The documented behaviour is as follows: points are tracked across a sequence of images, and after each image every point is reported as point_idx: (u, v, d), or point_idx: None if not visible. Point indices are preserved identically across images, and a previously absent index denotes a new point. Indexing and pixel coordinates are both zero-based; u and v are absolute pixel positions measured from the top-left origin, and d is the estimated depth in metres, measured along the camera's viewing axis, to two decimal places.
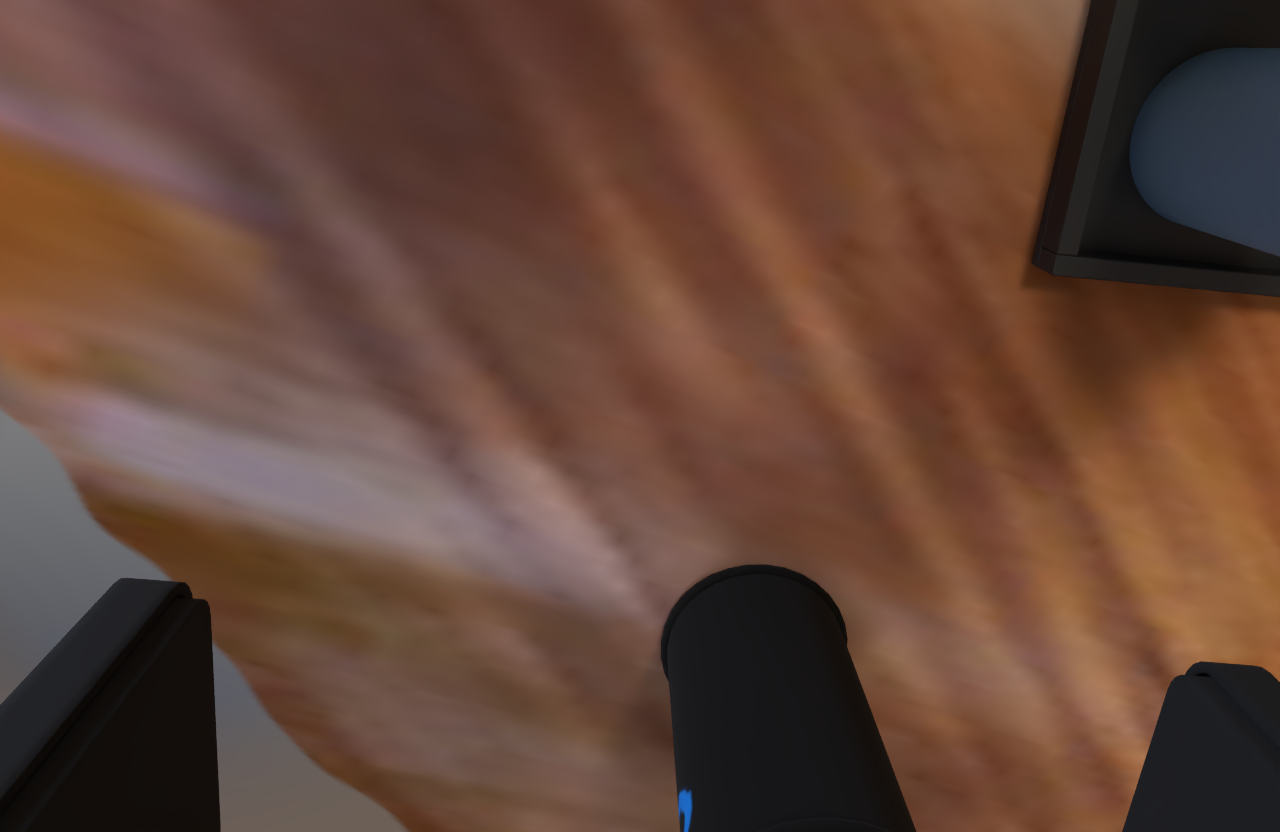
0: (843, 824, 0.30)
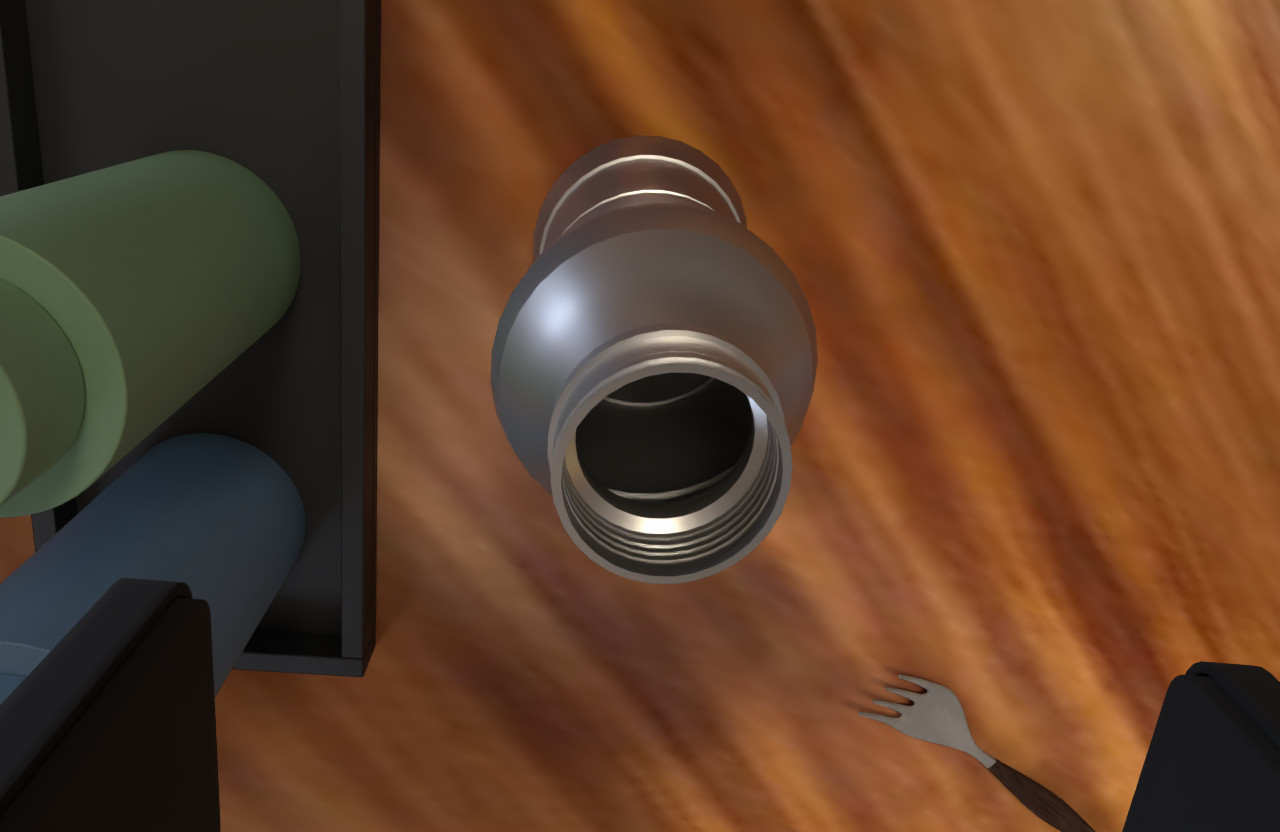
0: None
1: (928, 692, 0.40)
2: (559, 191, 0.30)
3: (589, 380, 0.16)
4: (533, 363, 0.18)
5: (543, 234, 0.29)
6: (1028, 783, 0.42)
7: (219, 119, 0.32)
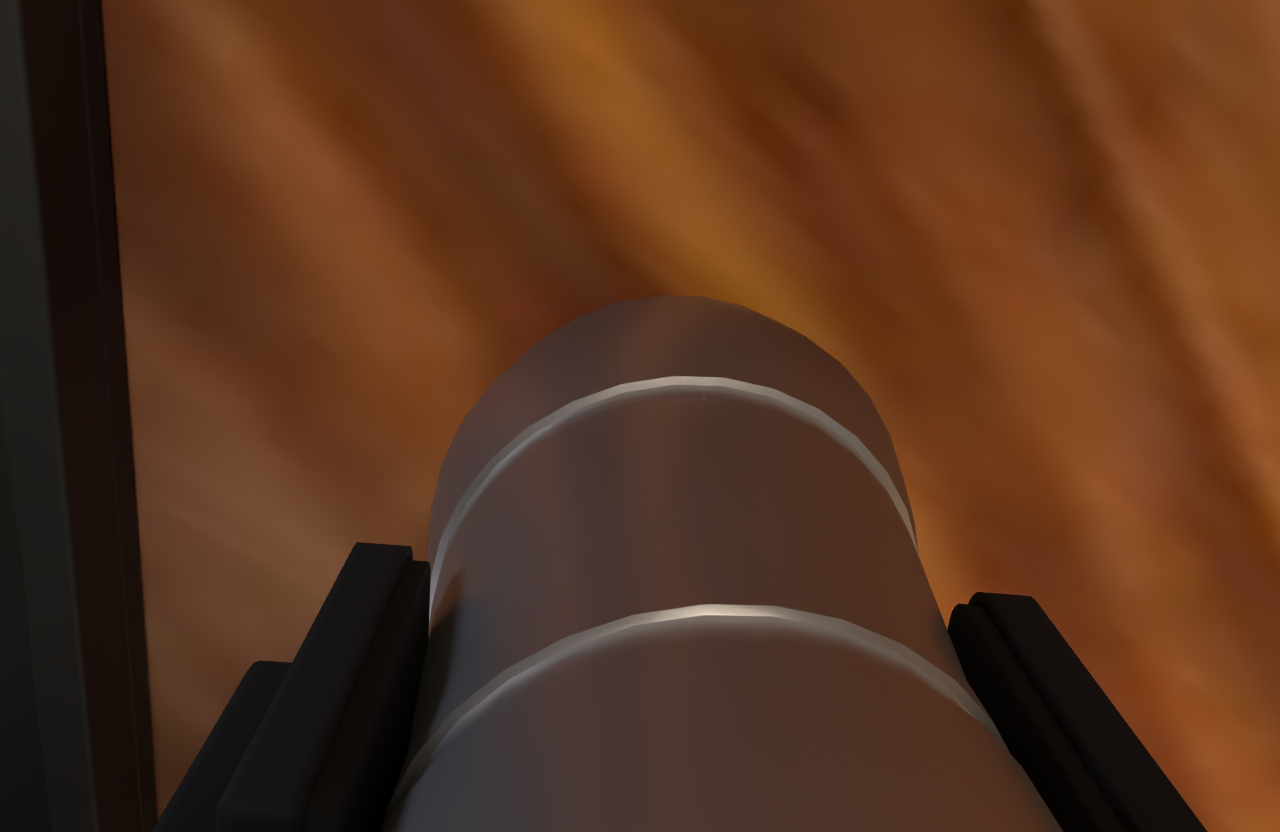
0: None
1: None
2: (477, 447, 0.12)
3: None
4: None
5: (437, 553, 0.12)
6: None
7: None
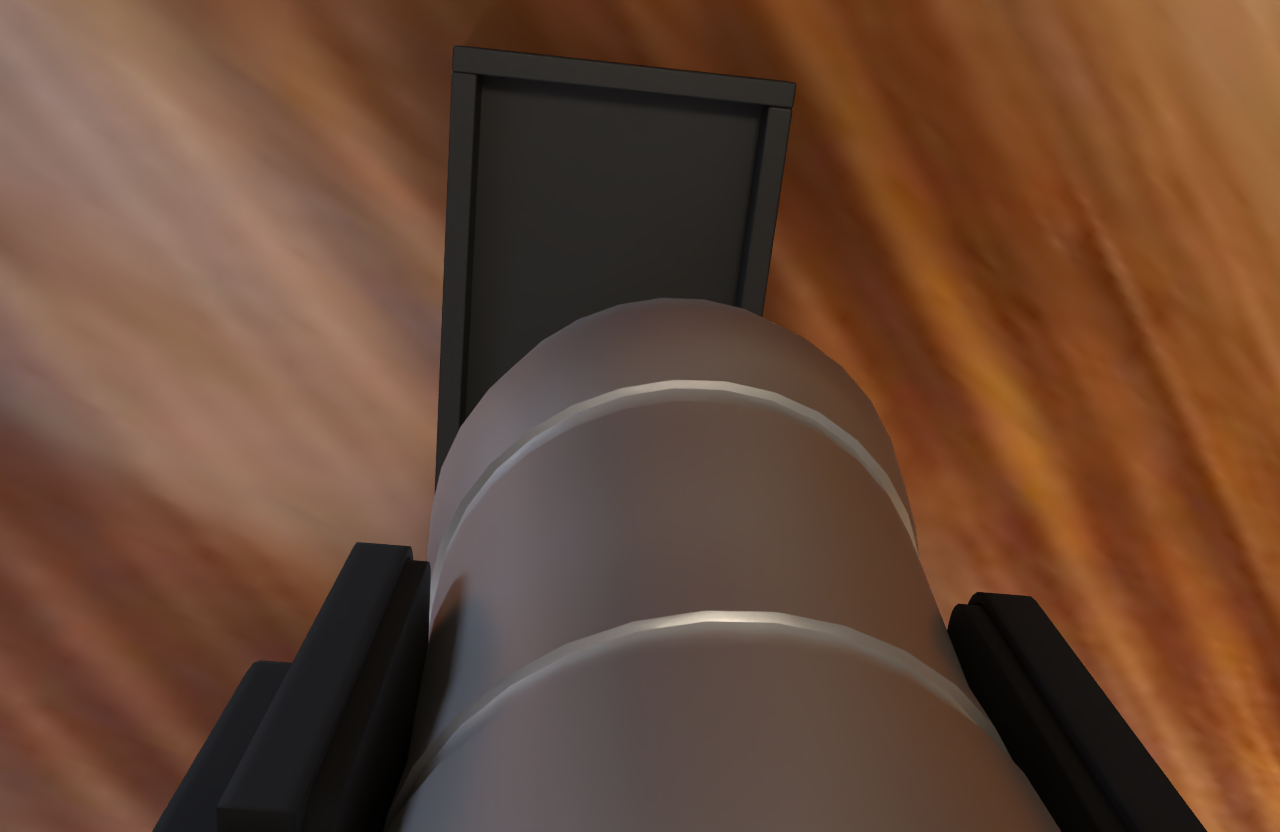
0: None
1: None
2: (477, 451, 0.12)
3: None
4: None
5: (437, 558, 0.12)
6: None
7: None
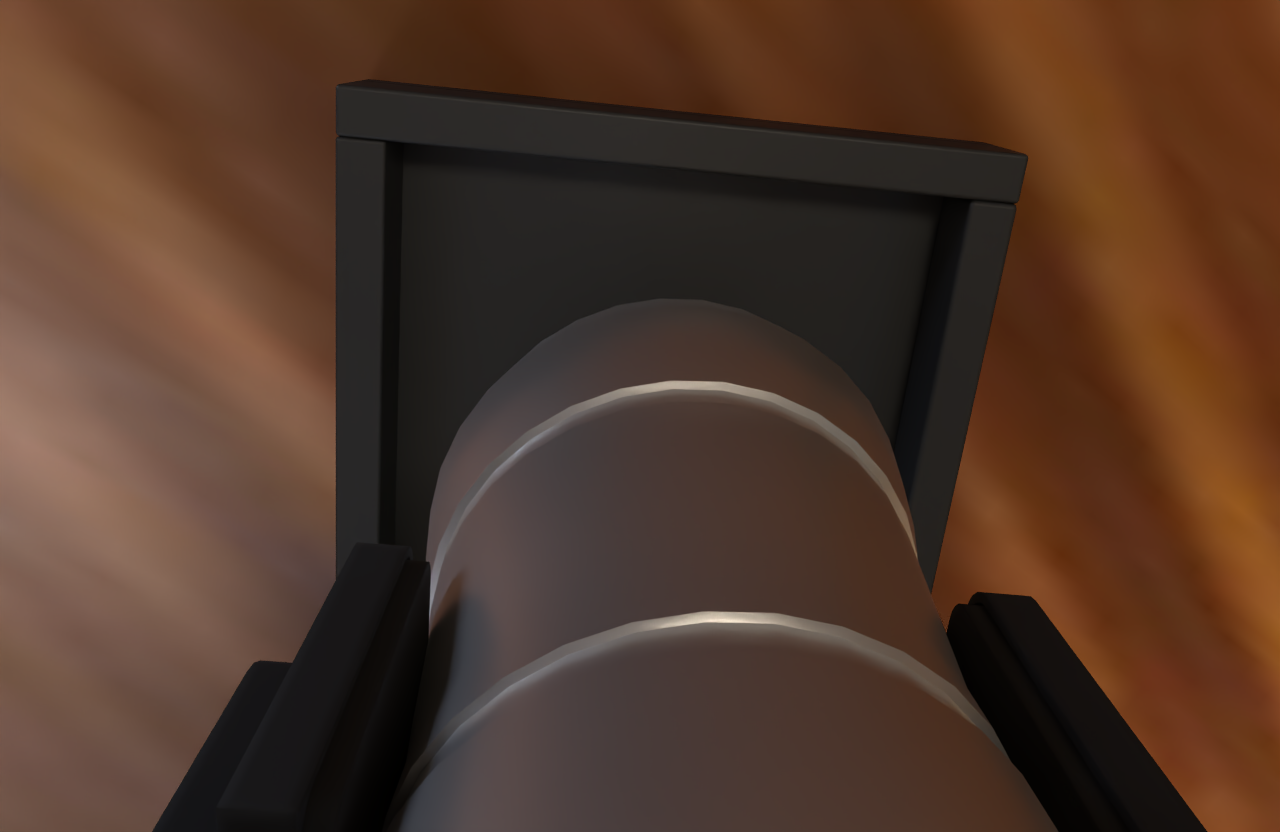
0: None
1: None
2: (476, 452, 0.12)
3: None
4: None
5: (436, 558, 0.12)
6: None
7: None
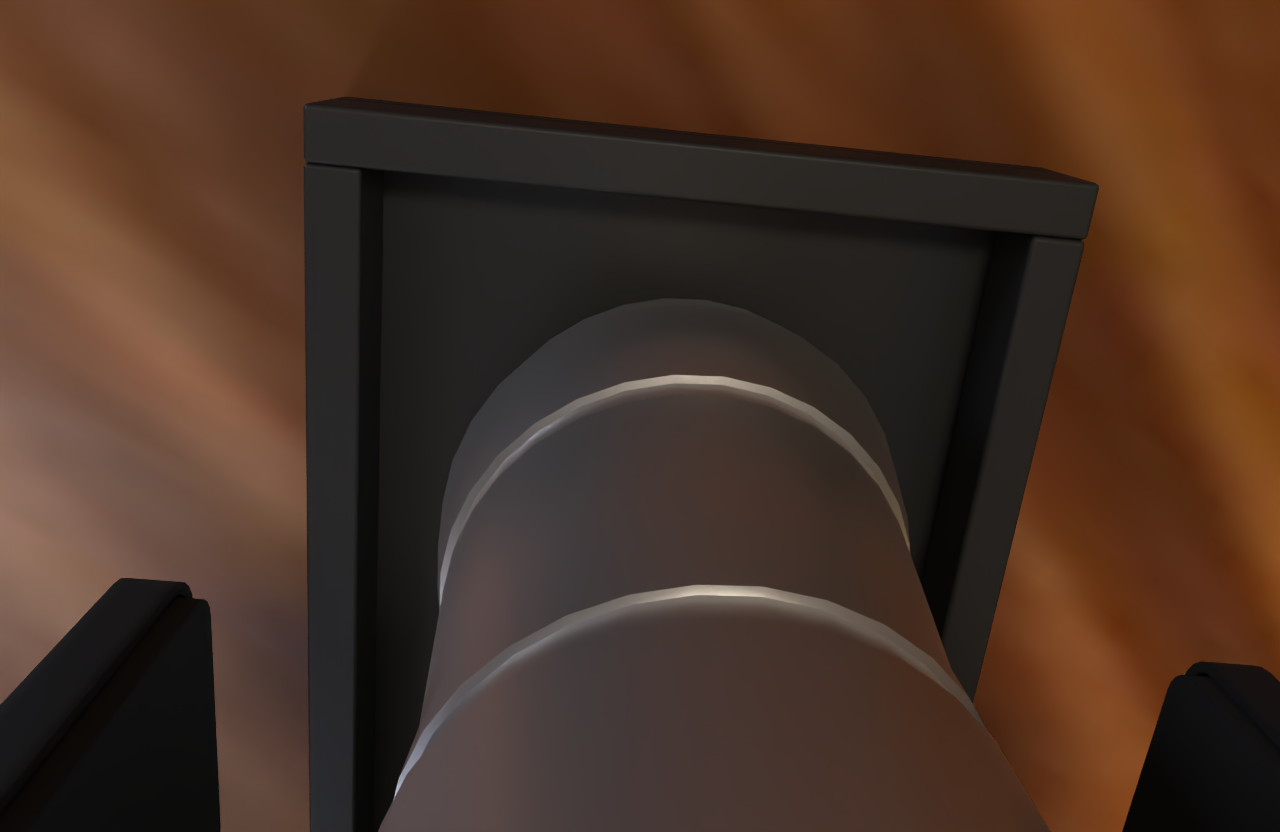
0: None
1: None
2: (486, 443, 0.13)
3: None
4: None
5: (449, 545, 0.13)
6: None
7: None
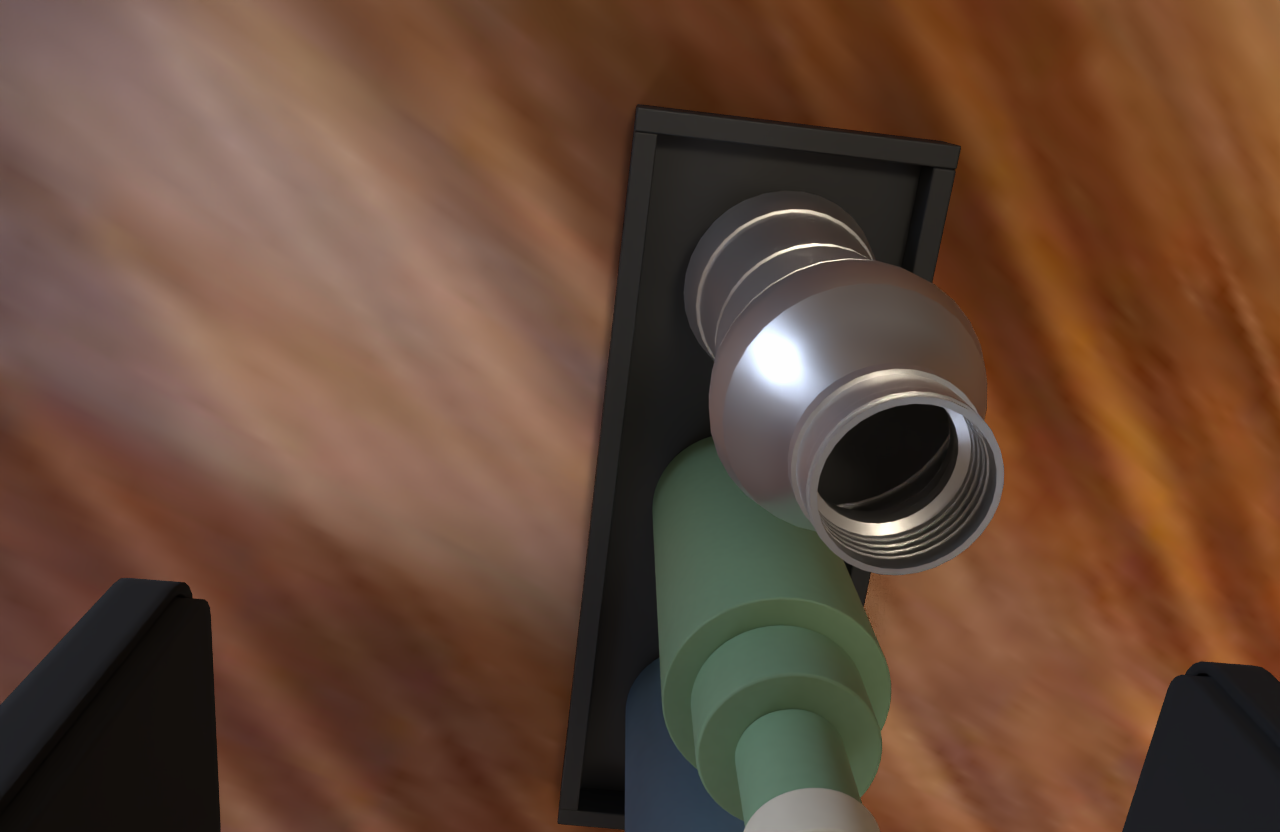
0: None
1: None
2: (716, 238, 0.34)
3: (838, 408, 0.19)
4: (763, 392, 0.22)
5: (702, 275, 0.33)
6: None
7: None
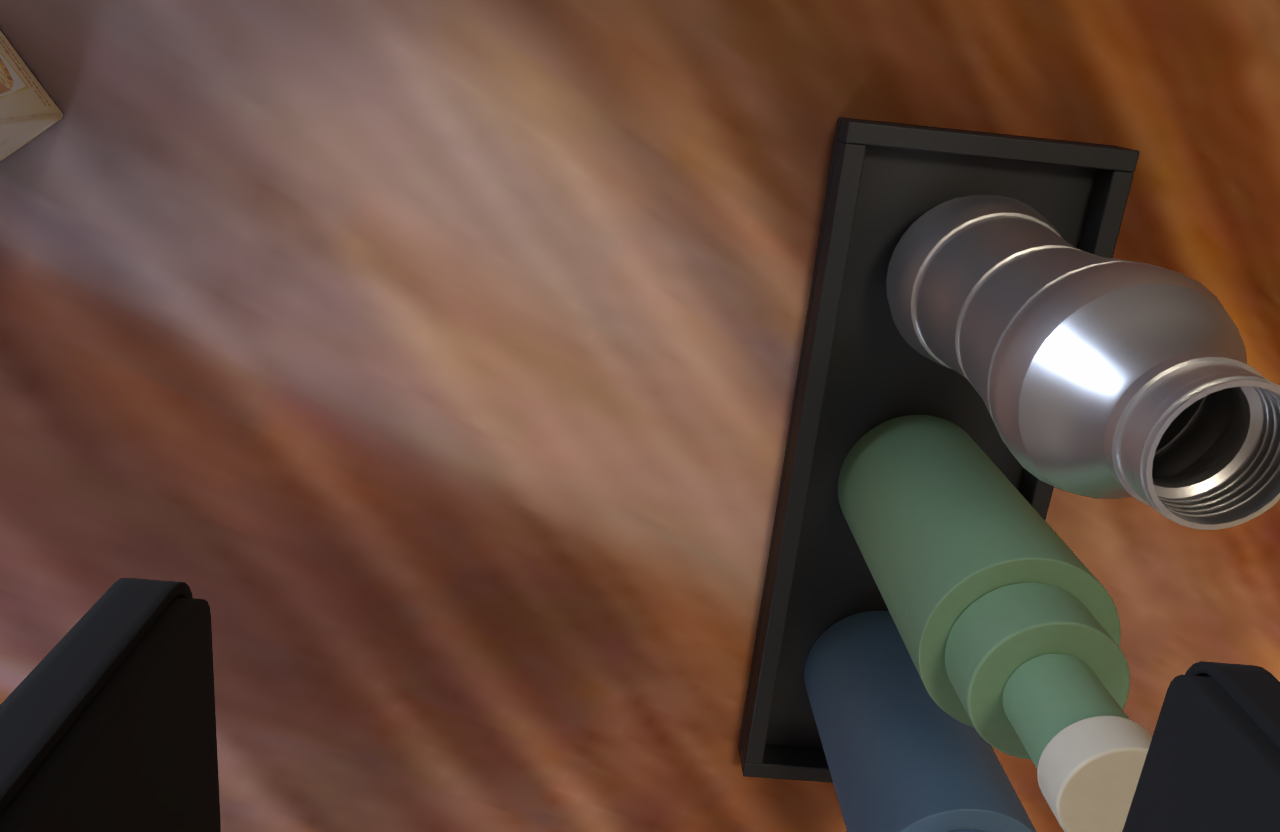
0: None
1: None
2: (928, 240, 0.37)
3: (1166, 390, 0.23)
4: (1066, 378, 0.26)
5: (918, 273, 0.37)
6: None
7: (947, 393, 0.44)
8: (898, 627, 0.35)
